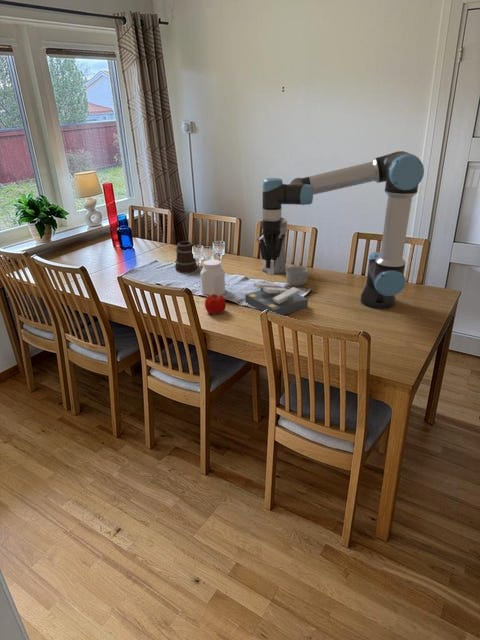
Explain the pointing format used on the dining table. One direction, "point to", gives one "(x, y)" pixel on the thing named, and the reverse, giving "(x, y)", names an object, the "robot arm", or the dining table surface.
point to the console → (265, 301)
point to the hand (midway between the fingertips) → (270, 274)
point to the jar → (212, 278)
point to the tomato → (215, 304)
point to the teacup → (296, 275)
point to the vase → (280, 262)
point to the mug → (185, 257)
